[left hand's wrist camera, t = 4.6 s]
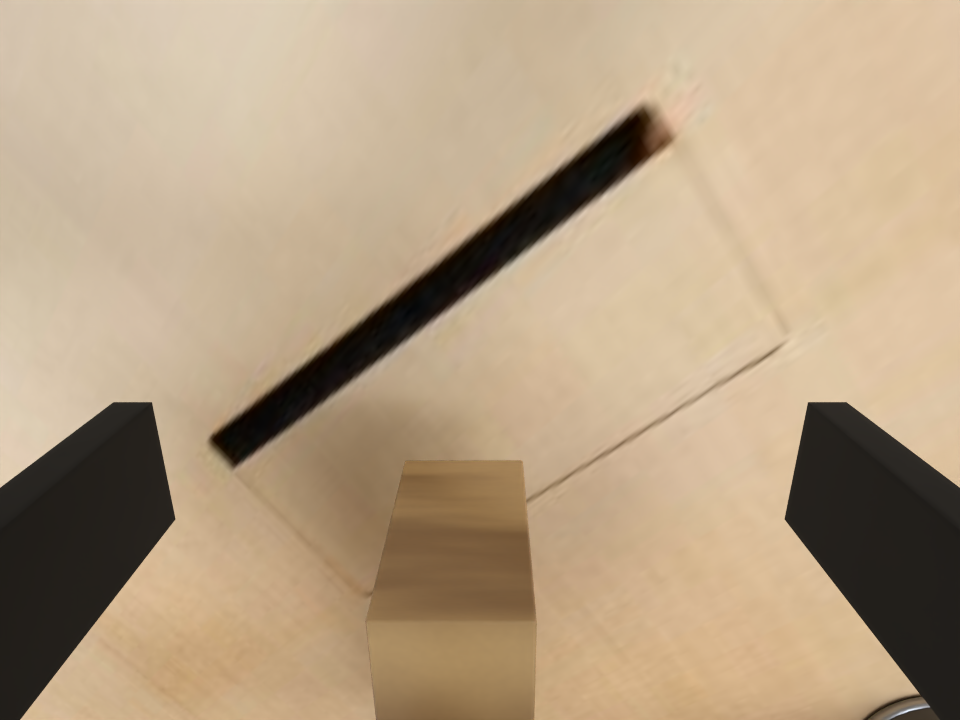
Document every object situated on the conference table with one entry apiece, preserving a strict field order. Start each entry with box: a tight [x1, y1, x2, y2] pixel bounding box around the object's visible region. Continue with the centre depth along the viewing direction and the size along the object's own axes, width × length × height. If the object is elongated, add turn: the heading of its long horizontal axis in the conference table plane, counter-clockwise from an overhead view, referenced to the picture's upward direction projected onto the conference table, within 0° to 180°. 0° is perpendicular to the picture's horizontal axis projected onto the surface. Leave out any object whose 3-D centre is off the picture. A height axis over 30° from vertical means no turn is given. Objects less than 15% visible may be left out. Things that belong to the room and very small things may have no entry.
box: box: [366, 461, 537, 720], centre depth 30 cm, size 22×6×10 cm, turn 1°
